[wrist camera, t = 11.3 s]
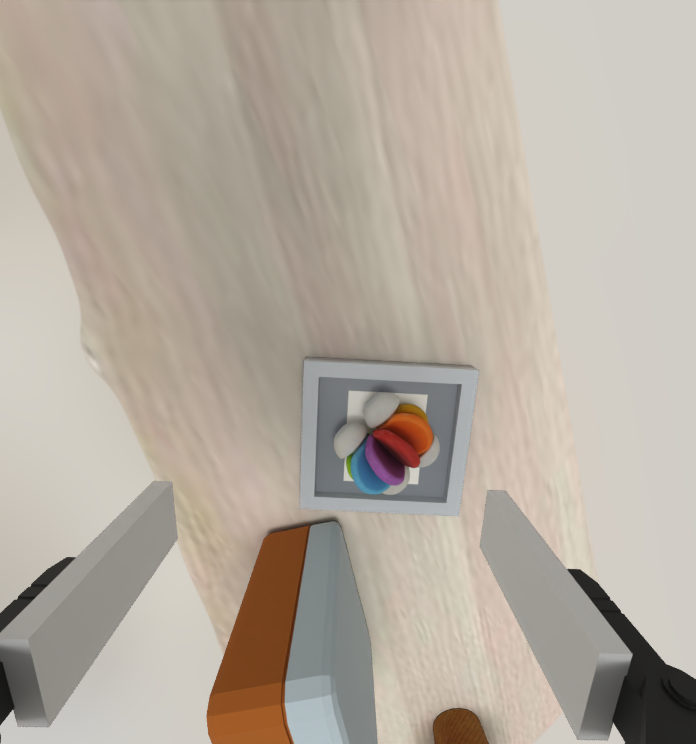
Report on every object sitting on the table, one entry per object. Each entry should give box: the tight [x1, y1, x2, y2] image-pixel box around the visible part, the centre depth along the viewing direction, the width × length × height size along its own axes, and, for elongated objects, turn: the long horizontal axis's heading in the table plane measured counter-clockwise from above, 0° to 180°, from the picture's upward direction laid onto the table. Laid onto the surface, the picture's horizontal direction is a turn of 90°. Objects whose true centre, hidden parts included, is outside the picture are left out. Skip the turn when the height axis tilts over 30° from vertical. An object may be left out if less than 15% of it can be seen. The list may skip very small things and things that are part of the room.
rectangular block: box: [207, 521, 378, 744], centre depth 32 cm, size 18×9×21 cm, turn 13°
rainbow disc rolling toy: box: [334, 392, 440, 495], centre depth 32 cm, size 8×10×7 cm
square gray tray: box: [300, 357, 479, 516], centre depth 36 cm, size 16×17×2 cm
